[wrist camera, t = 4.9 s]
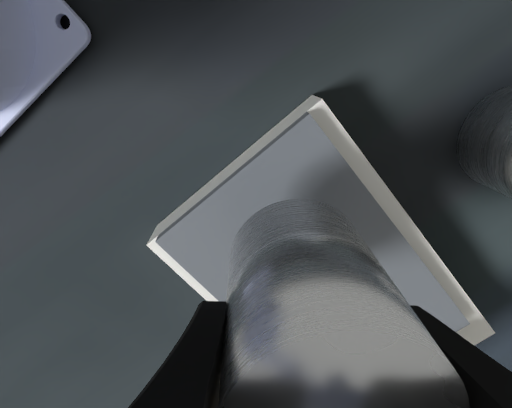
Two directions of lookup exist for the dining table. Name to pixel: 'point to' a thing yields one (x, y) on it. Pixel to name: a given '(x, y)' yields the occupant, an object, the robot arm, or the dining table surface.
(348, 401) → the steel weight
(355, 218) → the grey boxy piece
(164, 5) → the dining table surface
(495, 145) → the cylinder
